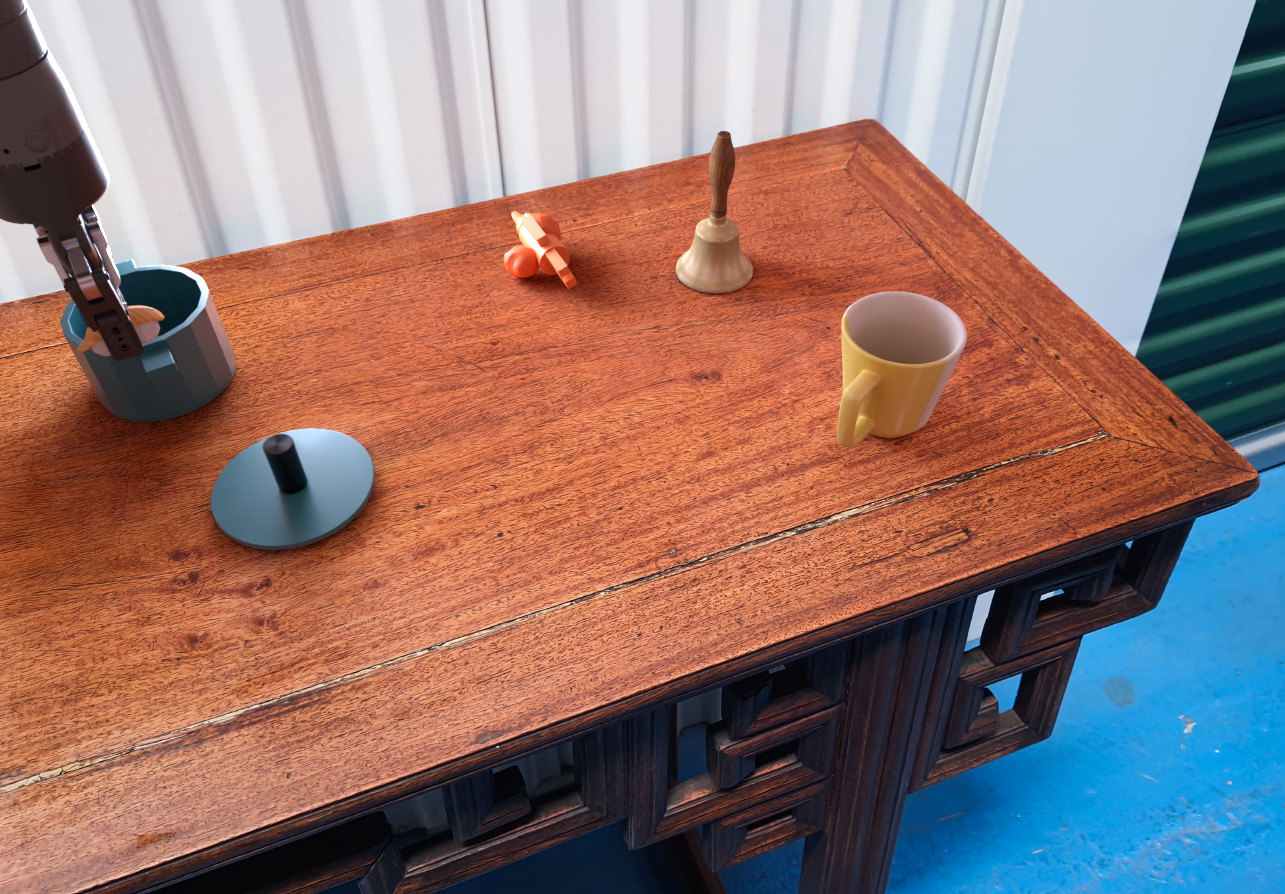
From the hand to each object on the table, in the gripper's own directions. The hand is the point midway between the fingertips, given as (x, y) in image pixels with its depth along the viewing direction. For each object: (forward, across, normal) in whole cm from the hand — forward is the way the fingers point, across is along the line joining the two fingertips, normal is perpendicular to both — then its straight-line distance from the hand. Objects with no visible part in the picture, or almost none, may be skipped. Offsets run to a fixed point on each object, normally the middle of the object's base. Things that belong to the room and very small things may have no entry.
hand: (125, 341), depth 75 cm
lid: (+15, +6, +7) cm, 18 cm away
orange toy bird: (+16, -12, +39) cm, 44 cm away
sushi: (+1, 0, 0) cm, 1 cm away
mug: (+16, +24, +54) cm, 62 cm away
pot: (+15, -15, +1) cm, 21 cm away
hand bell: (+16, -2, +55) cm, 57 cm away
